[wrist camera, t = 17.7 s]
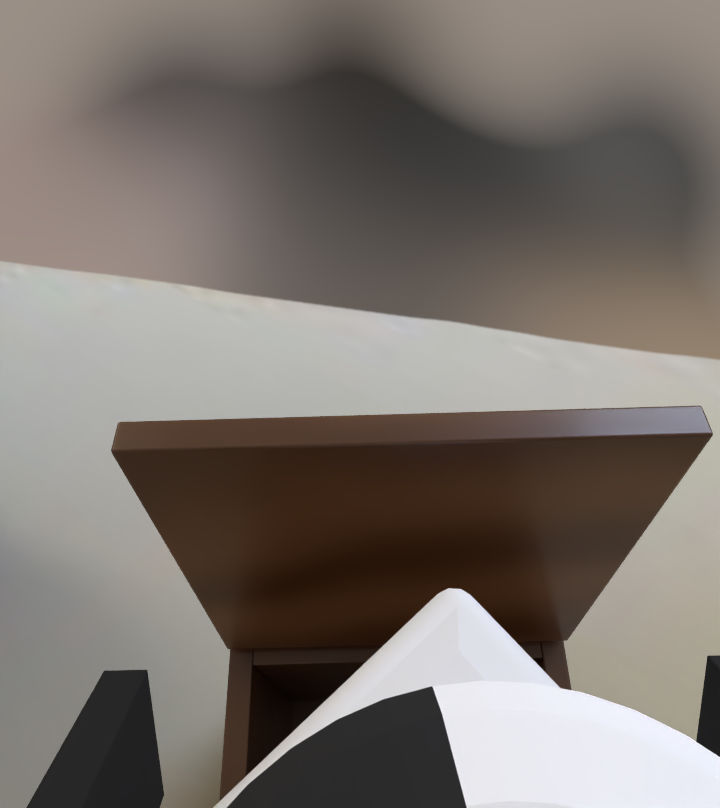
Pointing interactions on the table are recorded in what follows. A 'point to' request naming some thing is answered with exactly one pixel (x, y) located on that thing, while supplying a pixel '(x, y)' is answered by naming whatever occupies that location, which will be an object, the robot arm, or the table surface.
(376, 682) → the medicine bottle
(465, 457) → the lid
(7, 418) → the table surface
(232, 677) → the chest
